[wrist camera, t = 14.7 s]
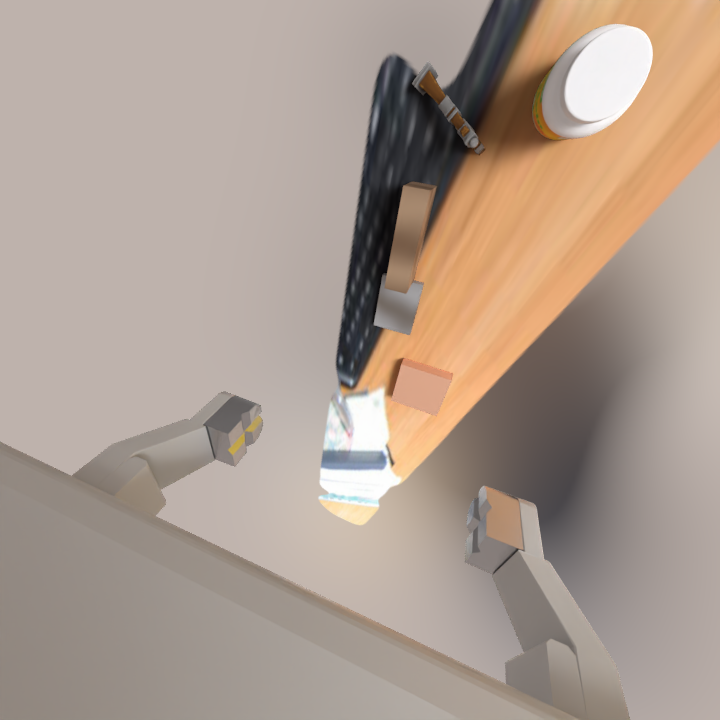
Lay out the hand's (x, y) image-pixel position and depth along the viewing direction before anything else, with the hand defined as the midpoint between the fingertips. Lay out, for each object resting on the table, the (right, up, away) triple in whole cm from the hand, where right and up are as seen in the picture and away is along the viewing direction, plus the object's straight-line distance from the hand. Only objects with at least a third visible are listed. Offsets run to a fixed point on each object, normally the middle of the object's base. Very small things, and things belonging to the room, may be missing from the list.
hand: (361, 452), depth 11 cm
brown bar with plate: (+5, +14, +25) cm, 30 cm away
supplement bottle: (+17, +24, +14) cm, 33 cm away
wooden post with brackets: (+9, +26, +17) cm, 32 cm away
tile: (+9, +2, +31) cm, 33 cm away
